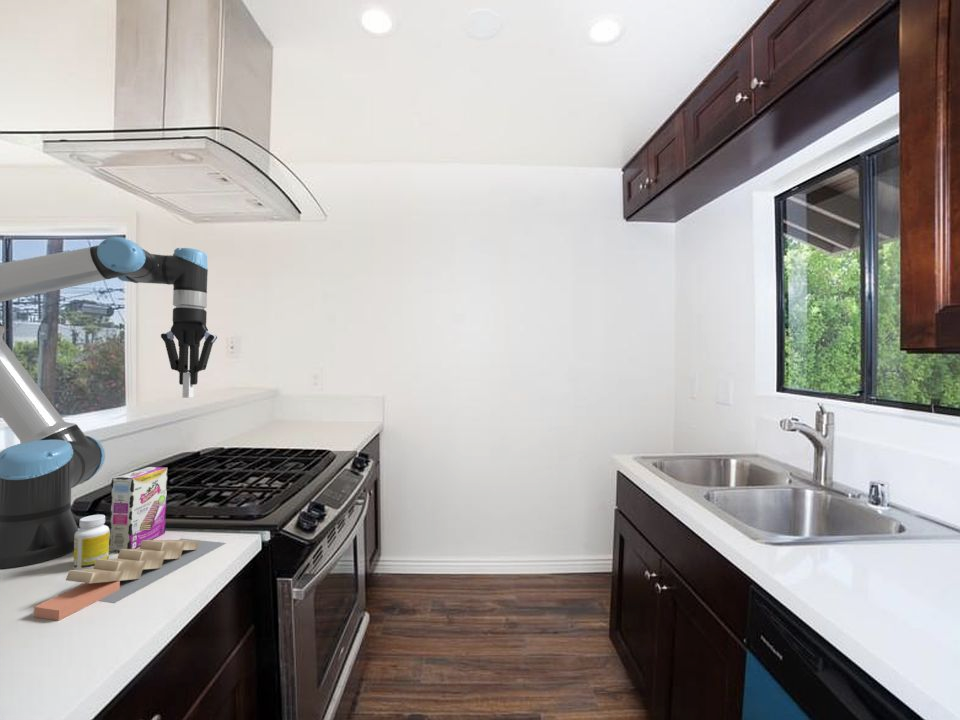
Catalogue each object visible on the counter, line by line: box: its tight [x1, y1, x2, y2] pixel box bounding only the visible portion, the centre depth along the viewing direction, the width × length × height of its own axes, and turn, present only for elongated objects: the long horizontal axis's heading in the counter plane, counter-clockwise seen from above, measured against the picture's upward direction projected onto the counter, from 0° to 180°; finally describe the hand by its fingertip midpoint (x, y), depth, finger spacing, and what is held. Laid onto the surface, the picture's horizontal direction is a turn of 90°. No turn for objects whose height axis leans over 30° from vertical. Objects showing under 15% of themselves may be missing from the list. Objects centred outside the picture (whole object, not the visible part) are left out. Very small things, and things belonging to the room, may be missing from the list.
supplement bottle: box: [73, 514, 110, 570], centre depth 91 cm, size 5×5×10 cm
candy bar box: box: [109, 466, 169, 553], centre depth 102 cm, size 11×5×16 cm, turn 0°
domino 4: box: [117, 548, 182, 561], centre depth 90 cm, size 2×5×10 cm
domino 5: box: [138, 539, 199, 551], centre depth 95 cm, size 2×5×10 cm
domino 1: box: [33, 581, 120, 621], centre depth 77 cm, size 2×5×10 cm
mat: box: [58, 537, 227, 604], centre depth 91 cm, size 26×12×1 cm, turn 170°
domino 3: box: [93, 557, 163, 571], centre depth 86 cm, size 2×5×10 cm
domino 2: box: [65, 569, 142, 584], centre depth 81 cm, size 2×5×10 cm
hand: (188, 397), depth 118 cm, fingers closed
